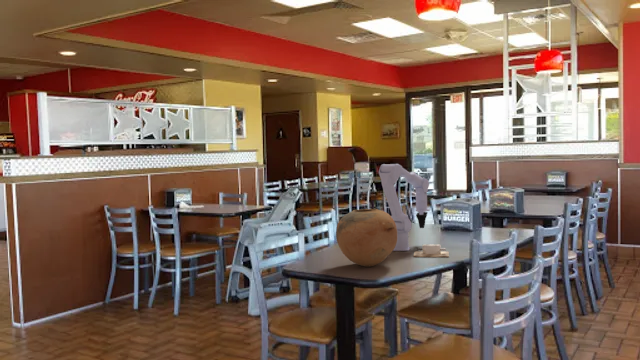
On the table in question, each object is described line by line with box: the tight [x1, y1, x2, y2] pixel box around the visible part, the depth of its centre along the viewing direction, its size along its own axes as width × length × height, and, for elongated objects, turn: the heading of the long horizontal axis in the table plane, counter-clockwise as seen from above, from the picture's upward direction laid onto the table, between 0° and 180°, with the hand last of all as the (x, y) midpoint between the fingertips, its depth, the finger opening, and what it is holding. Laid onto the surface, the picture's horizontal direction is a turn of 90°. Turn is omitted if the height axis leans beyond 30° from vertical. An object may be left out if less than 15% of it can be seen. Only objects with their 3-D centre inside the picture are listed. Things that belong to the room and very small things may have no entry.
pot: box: [335, 208, 397, 268], centre depth 245 cm, size 31×27×25 cm
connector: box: [416, 243, 447, 254], centre depth 264 cm, size 13×4×4 cm, turn 77°
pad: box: [413, 250, 450, 258], centre depth 265 cm, size 16×10×1 cm, turn 78°
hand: (422, 227), depth 292 cm, fingers open, 7 cm apart
